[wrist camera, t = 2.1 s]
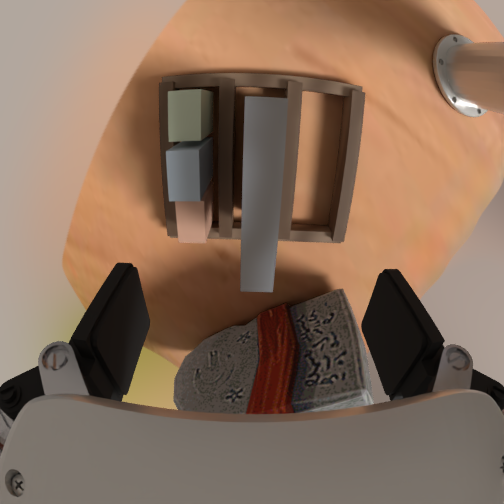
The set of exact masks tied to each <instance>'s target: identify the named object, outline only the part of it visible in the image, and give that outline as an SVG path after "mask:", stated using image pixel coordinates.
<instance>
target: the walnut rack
mask: <svg viewBox="0 0 504 504" xmlns="http://www.w3.org/2000/svg"><path fill="white" fill-rule="evenodd" d="M203 87H219V145H218V182H219V221H212V225H211V228H210V231H209V234H208V238H207V239H241V224H242V222H233V194H234V135H235V97H236V87H258V88H276V89H285V94H284V98H288V110H287V127H286V142H285V157H284V171H283V184H282V197H281V209H280V221H279V232H278V241H299V242H324V243H341V242H344V238H345V233H346V228H347V223H348V218H349V213H350V207H351V202H352V196H353V190H354V184H355V177H356V171H357V164H358V157H359V149H360V141H361V133H362V124H363V114H364V102H365V93H364V92H362V87H361V86H357V85H352V84H346V83H341V82H335V81H329V80H322V79H315V78H307V77H298V76H288V75H275V74H256V73H209V74H190V75H177V76H167V77H162V83H159V122H160V149H161V167H162V182H163V194H164V205H165V215H166V225H167V234H168V236H170V238H178V230H177V219H176V207H175V201H169V194H168V180H167V164H166V151H167V150H169V149H170V148H172V147H173V146H175V145H177V144H178V143H180V141H176V142H169V135H168V91H177V90H180V89H185V88H203ZM302 91H309V92H317V93H324V94H331V95H337V96H343V97H344V100H343V112H342V123H341V134H340V143H339V152H338V160H337V168H336V176H335V183H334V190H333V197H332V204H331V210H330V216H329V222H328V226H327V225H308V224H291V221H292V212H293V202H294V192H295V181H296V170H297V158H298V146H299V133H300V119H301V104H302Z"/></svg>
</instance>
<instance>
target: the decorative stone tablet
mask: <svg viewBox="0 0 504 504" xmlns="http://www.w3.org/2000/svg"><path fill="white" fill-rule="evenodd" d="M174 403H175V405H176V407H177V409H178V410H183V411H193V412H206V413H223V414H289V413H306V412H318V411H329V410H338V409H346V408H353V407H360V406H366V405H372V404H373V395H372V387H371V380H370V374H369V366H368V360H367V354H366V348H365V345H364V342H363V339H362V336H361V333H360V330H359V328H358V325H357V322H356V319H355V316H354V314H353V311H352V308H351V306H350V303H349V301H348V299H347V297H346V295H345V292H344V290H343V289H337V290H334V291H331V292H329V293H326V294H324V295H321V296H318V297H315V298H313V299H310V300H307V301H305V302H302V303H299V304H296V305H293V306H290V305H288V304H287V303H285V304H283V305H280V306H278V307H275V308H273V309H270V310H267V311H264V312H262V313H260V314H259V315H258V317H257V318H255V319H253V320H252V321H251V322H249V323H248V324H246V325H245V326H232V327H229V328H227V329H225V330H223V331H221V332H219V333H217V334H215V335H212V336H210V337H208V338H206V339H204V340H203V341H202V342H201V343H200V344H199V345H198V346H197V347H196V348H195V349H194V350H193V351H192V352H190V353H189V354H188V355H187V356H185V358H184V360H183V362H182V364H181V366H180V368H179V370H178V372H177V374H176V377H175V380H174Z"/></svg>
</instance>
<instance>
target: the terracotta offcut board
mask: <svg viewBox="0 0 504 504" xmlns="http://www.w3.org/2000/svg"><path fill="white" fill-rule="evenodd" d="M175 207H176V219H177V230H178V240H179V243H206V241H207V238H208V234H209V231H210V228H211V225H212V221H213V218H214V197H213V181H210V183H209V185H208V187H207V189H206V191H205V193H204V195H203V197H202V199H201V201H175Z"/></svg>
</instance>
